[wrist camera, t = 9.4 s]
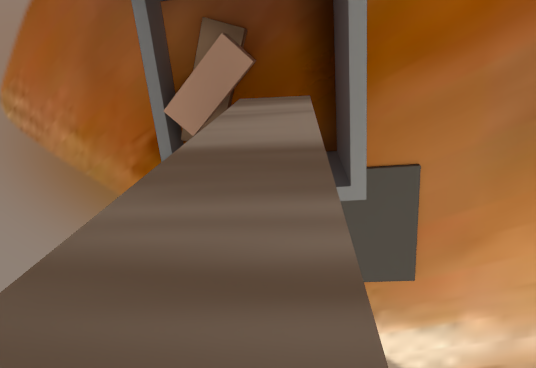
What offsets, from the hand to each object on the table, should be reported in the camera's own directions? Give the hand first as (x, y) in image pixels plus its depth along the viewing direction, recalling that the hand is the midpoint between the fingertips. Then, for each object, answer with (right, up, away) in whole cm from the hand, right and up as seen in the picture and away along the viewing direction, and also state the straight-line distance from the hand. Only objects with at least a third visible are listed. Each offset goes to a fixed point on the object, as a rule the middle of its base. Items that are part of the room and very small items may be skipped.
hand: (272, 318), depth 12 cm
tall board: (0, +2, +6) cm, 7 cm away
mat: (+11, -1, +30) cm, 33 cm away
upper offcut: (-6, +14, +25) cm, 29 cm away
